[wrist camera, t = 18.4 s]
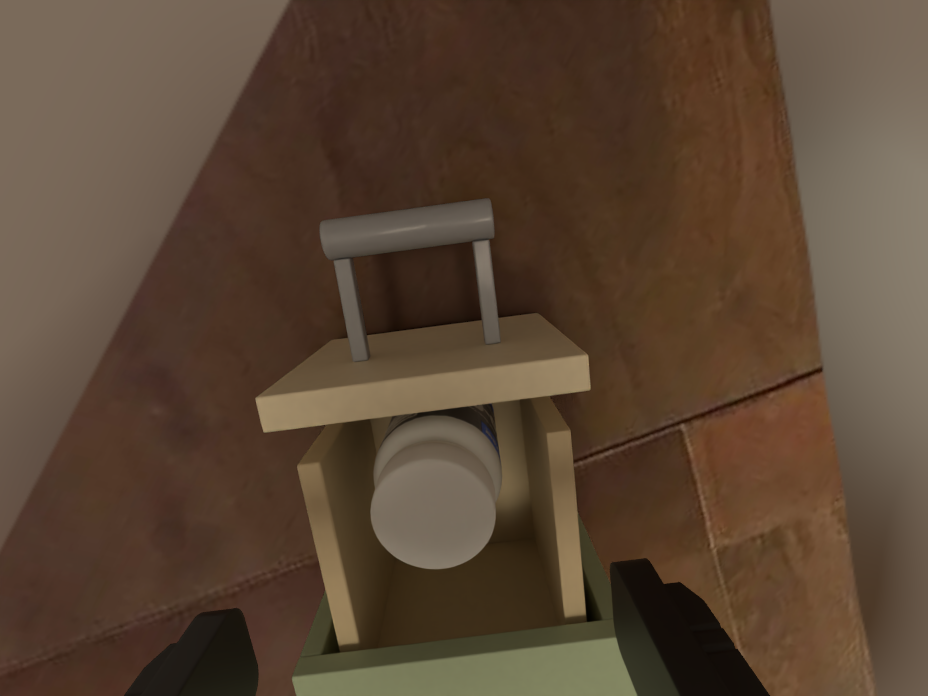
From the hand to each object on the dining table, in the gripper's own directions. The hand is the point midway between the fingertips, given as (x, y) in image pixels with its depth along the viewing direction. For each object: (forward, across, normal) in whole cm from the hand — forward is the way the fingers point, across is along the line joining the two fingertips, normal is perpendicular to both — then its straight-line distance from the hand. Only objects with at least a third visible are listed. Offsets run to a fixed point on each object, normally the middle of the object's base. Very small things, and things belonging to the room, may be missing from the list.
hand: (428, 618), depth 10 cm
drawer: (+14, 0, 0) cm, 14 cm away
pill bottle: (+13, 0, 0) cm, 13 cm away
